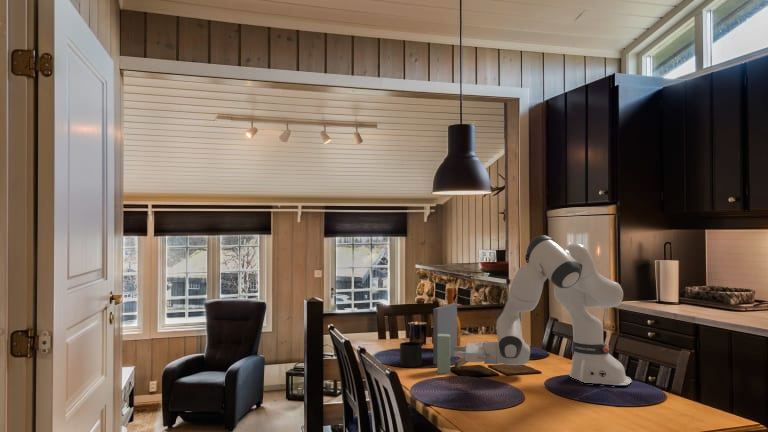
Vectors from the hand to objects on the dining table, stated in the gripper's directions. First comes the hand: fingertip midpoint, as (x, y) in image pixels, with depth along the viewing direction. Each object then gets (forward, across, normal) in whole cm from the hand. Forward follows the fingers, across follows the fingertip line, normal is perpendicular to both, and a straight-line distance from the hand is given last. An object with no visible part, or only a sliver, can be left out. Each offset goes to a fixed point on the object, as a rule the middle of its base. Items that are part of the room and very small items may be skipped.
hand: (454, 351), depth 216 cm
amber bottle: (+3, +45, -8) cm, 46 cm away
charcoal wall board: (0, +21, -8) cm, 22 cm away
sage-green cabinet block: (+4, +1, -9) cm, 10 cm away
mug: (+20, +11, -9) cm, 24 cm away
